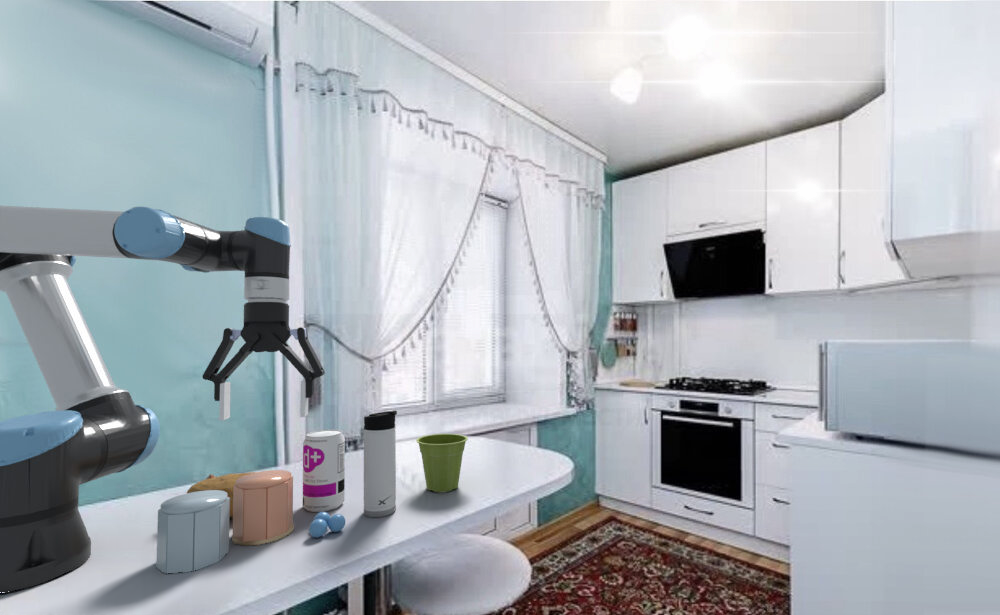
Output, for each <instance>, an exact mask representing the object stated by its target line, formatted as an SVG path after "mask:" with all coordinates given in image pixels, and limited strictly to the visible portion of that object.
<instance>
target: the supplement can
mask: <svg viewBox="0 0 1000 615" xmlns="http://www.w3.org/2000/svg"><path fill="white" fill-rule="evenodd" d="M342 432H343V431H342V430H340V429H324V430H316V431H315V430H314V431H311V432H308V433H306V437H304V438H305V439H304V440H303V443H302V507H303V508H304V509H305V510H306V511H307V512H309V513H310V512H312V513H320V512H328V511H329V512H330V511H333V510H335V509H338V508H339V507H341V506H342V504H343V503H344V502H345V500H346V499H345V496H346V494H345V493H346V492H345V490H346V489H345V487H346V485H345V482H346V481H345V478H346V477H345V476H346V474H345V473H346V472H345V468H346V467H345V462H346V461H345V460H346V459H345V456H346V455H345V452H346V444H345V440H346V439H345V436H344V434H343V433H342Z"/></svg>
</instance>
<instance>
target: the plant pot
mask: <svg viewBox="0 0 1000 615" xmlns="http://www.w3.org/2000/svg"><path fill="white" fill-rule="evenodd" d="M468 439H469V438H468V437H467V436H466V435H463V434H456V433H435V434H428V435H423V436H420V437H418V438H417V439H416V442H417V443H418V447H419V452H420V453H421V459H422V466H423V472H424V480H425V486H426V489H427V490H428V491H433V492H435V493H448V492H452V491H453V490H455V489H457V488H458V487H459V482H460V477H461V476H460V475H461V468H462V462H463V455H464V454H463V453H464V452H465V447H466V446H465V445H466V442H467V441H468Z"/></svg>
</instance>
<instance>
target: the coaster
mask: <svg viewBox="0 0 1000 615" xmlns="http://www.w3.org/2000/svg"><path fill="white" fill-rule="evenodd" d="M294 531H295V523H294V522H293V524H292V526H291V527H290V528H289V530H288V531H287V532H286V533H283V534H280V535H278V536H275V537H272V538H270V539H266V540H258V541H246V542H244V541H243V542H242V541H240V540H238V539H236V538H234V537H233V533H232V535H231V541H232V543H233V544H234V543H235V545H237V546H241V545H242V547H244V546H245V547H251V546H253V545H255V546H262V545H266V544H265V543H267V544H271V543H274V542H276V541H280V540H282V539H284V538H287V537H288V536H289V535H291V534H292V533H293V532H294ZM290 533H291V534H290ZM287 535H288V536H287ZM279 539H280V540H279ZM273 541H274V542H273ZM270 542H271V543H270ZM261 544H262V545H261Z"/></svg>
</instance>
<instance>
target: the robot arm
mask: <svg viewBox="0 0 1000 615" xmlns="http://www.w3.org/2000/svg"><path fill="white" fill-rule="evenodd" d="M290 237H291V236H290V226H289V225H288V223H287V222H285V221H284V220H281V219H279V218H274V217H270V216H269V217H267V216H255V217H249V218H247V219H246V220H245V226H244V230H243V229H241V230H216V229H213V228H210V227H206V226H205V225H201V224H199V223H195V222H192V221H191V220H187V219H184V218H182V217H179V216H176V215H173V214H171V213H169V212H167V211H165V210H162V209H157V208H153V207H152V208H151V207H148V206H134V207H132V208H130V209H127V210H125V211H120V210H119V211H118V210H101V209H100V210H99V209H98V210H97V209H96V210H95V209H79V208H78V209H77V208H76V209H75V208H58V207H57V208H54V207H40V206H39V207H38V206H37V207H36V206H35V207H34V206H33V207H32V206H20V205H19V206H18V205H17V206H15V205H14V206H13V205H0V292H2V293H3V292H4V293H5V294H6V296H7V298H8V301H9V302H10V304H11V307H12V309H13V311H14V314H15V316H16V318H17V320H18V323H19V326H20V327H21V329H22V332H23V334H24V337H25V338H26V341H27V343H28V345H29V348H30V349H31V352H32V354H33V357H34V359H35V361H36V363H37V365H38V368H39V369H40V372H41V374H42V376H43V379H44V381H45V383H46V385H47V388H48V390H49V393H50V395H51V397H52V399H53V402H54V403H55V406H56V408H55V409H54V410H50V411H41V412H38V413H33V414H25V415H20V416H15V417H10V418H6V419H4V420H1V421H0V592H1V593H2V592H8V591H13V592H15V591H14V590H17V591H19V590H18V589H20V590H23V588H24V589H27V588H30V586H31V587H34V586H37V585H40V584H44V583H46V582H48V580H49V581H51V580H54V579H56V578H55V577H57V576H59V575H61V576H63V575H62V574H64V573H66V572H68V573H70V572H71V570H72V571H73V570H75V569H77V568H79V567H81V566H82V565H84V564H85V563H86V562H87V561H88V560H89V559H88V558H91V556H90V555H92V540H91V536H89V533H88V531H87V528H86V525H85V523H84V520H83V518H82V515H81V513H80V511H79V499H80V498H79V494H80V485H83V484H87V483H89V482H92V481H95V480H98V479H100V478H103V477H106V476H109V475H112V474H116V473H121V472H125V471H126V470H128V469H129V468H131V467H134V466H136V465H139V464H141V463H143V462H144V461H145V460H146V459H148V457H150V456H151V454H153V451H154V450H155V449H156V445H157V444H158V441H159V440H160V435H161V427H160V421H159V419H158V417H157V415H156V414H155V412H154V411H153V410H152V409H151V408H149V407H146V406H144V405H140V404H135V402H134V400H133V398H132V395H131V394H130V391H129V390H127V389H123V388H119V387H117V386H116V385H115V383H114V381H113V379H112V376H111V374H110V372H109V370H108V368H107V366H106V365H107V364H106V363H105V361H104V359H103V357H102V355H101V353H100V350H99V347H98V345H97V344H96V341H95V340H94V338H93V335H92V333H91V330H90V328H89V326H88V325H87V322H86V319H85V317H84V314H83V313H82V311H81V309H80V306H79V304H78V303H77V300H76V298H75V296H74V294H73V290H72V289H71V287H70V285H69V283H68V282H69V281H68V279H69V278H70V277H71V276H72V274H73V272H74V270H73V267H74V265H75V264H76V261H77V258H76V257H93V258H94V257H97V258H114V259H115V258H117V259H131V260H132V259H133V260H147V261H162V262H168V263H171V264H172V263H173V264H178V265H179V266H181V267H182V268H183V269H184V270H186V271H187V272H199V273H200V272H202V273H211V272H212V273H213V272H235V271H236V272H237V271H238V272H244V281H243V282H244V286H243V287H244V288H243V290H244V292H243V293H244V294H243V298H244V300H246V301H247V302H245V303H244V304H243V326H242V329H235V328H234V327H226V328H225V329H223V333H222V339H221V340H222V341H221V342H220V344H219V346H217V349H216V351H215V352H214V355H213V356H212V358H211V360H210V362H209V363H208V365H207V366H206V368H205V371H204V372H203V374H202V379H203V380H205V381H206V380H207V381H211V382H212V383H213V384H214V390H213V393H214V394H213V397H214V398H213V399H214V401H215V402H219V412H218V414H219V415H218V421H219V422H220V421H225V420H228V419H230V418H231V390H232V389H231V388H232V387H231V381H228V380H227V379H228V378H229V377H230V376H232V374H233V373H234V372H235V371H236V370H237V368H239V367H240V365H242V363H243V362H244V361H245V360H246V359H247V357H248V356H250V355H251V354H253V352H254V353H264V352H267V353H276V352H279V353H281V354H282V355H283V356H284V357H285V358H286V359H287V360H288V361H289V362H290V363H291V365H292V366H293V367H294V368H295V370H297V371H298V373H299V374H301V376H302V377H303V380H301V381H300V408H299V409H300V412H299V413H300V414H299V417H300V418H305V417H307V416H308V415H309V399H311V398H313V397H314V395H315V380H316V379H317V378H321V377H322V376H325V374H326V372H325V369H324V367H323V366H322V364H321V361H320V360H319V358H318V356H317V354H316V352H315V351H314V348H313V346H312V344H311V342H310V341H309V337H308V330H307V328H306V327H298V328H292V329H291V328H290V325H289V324H290V305H289V304H288V303H287V302H288V301H289V300H290V259H291V258H290V257H291V256H290V255H291V247H292V245H291V239H290ZM75 256H76V257H75ZM292 336H293V338H294V339H295V340H296V341H298V344H299V346H300V347H301V350H302V351H303V354H304V356H305V357H306V359H307V361H308V363H309V365H310V368H312V370H311V369H310V368H309V367H308V365H307V364H305V362H304V361H303V360H302V359H301V357H299V356H298V355H297V353H296V352H295V351H294V350H293V348H292V347H291V346H290V345H289V344H288V341H289V339H290V338H291V337H292ZM239 337H241V338H242V339H243V341H244V342H245V343H243V345H242V346H241V347H240V348H239V350H238V351H237V352H236V353H235V355H234V356H233V357H232V358H231V359H230V360H229V361H228V362H227V363H226V365H225V366H224V367H223V368H222V369H221V367H222V366H223V364H224V362H225V360H226V358H227V357H228V356H229V355H228V354H230V351H231V349H232V347H233V345H234V344H235V342H236V341H238V339H239ZM220 369H221V370H220ZM69 571H70V572H69ZM66 574H67V573H66ZM64 575H65V574H64ZM59 577H60V576H59ZM53 578H54V579H53ZM57 578H58V577H57ZM50 579H51V580H50ZM8 593H9V592H8Z"/></svg>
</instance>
